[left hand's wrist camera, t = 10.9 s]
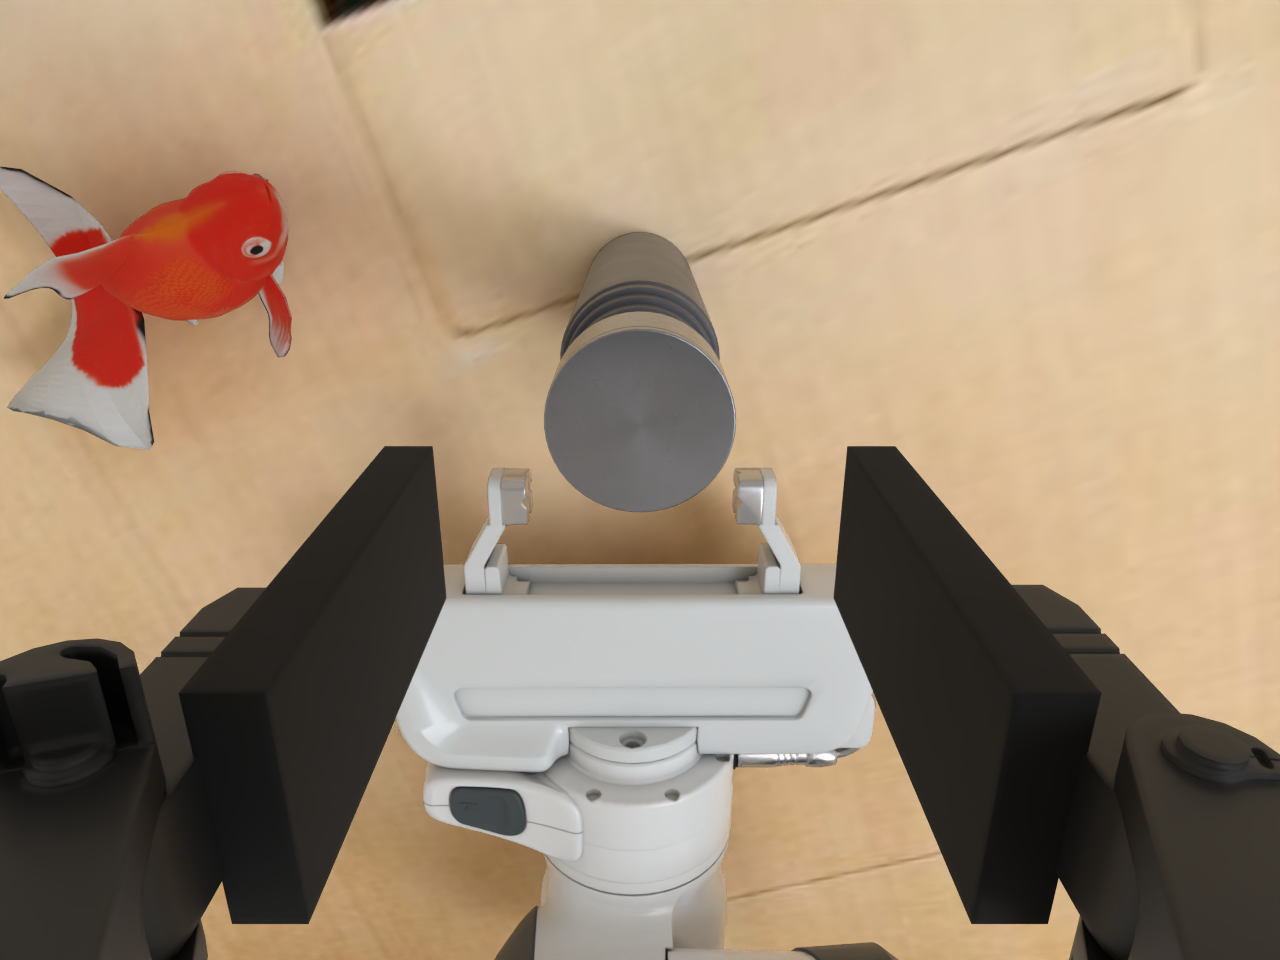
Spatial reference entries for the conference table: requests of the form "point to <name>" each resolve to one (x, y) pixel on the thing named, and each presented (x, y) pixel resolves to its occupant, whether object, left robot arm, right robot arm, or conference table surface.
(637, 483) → the cap
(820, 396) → the conference table surface
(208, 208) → the fish
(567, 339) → the bottle
